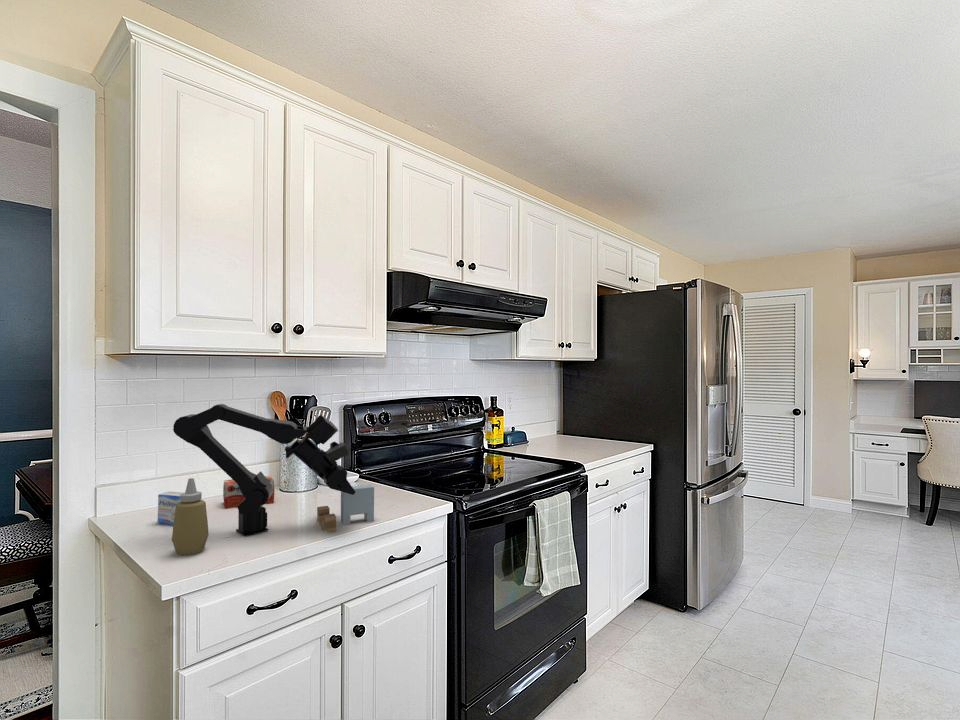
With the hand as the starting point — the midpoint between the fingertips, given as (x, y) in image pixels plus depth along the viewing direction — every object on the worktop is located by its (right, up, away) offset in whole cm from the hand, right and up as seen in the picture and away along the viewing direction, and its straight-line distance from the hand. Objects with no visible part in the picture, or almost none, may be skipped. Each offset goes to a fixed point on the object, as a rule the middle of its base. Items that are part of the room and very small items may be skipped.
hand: (350, 490), depth 152 cm
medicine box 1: (-51, -9, -2) cm, 52 cm away
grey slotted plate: (+2, -9, +1) cm, 10 cm away
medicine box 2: (-39, -10, +20) cm, 45 cm away
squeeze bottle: (-34, -9, -24) cm, 42 cm away
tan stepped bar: (-6, -9, -3) cm, 12 cm away
